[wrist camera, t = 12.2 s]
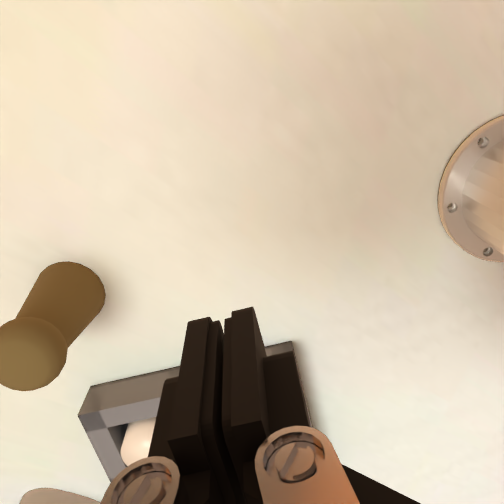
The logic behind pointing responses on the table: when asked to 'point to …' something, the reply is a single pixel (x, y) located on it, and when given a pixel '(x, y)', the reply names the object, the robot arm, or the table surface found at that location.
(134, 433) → the button
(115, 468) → the button board
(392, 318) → the table surface
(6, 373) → the cork
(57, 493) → the lumpy-topped squat cylinder
